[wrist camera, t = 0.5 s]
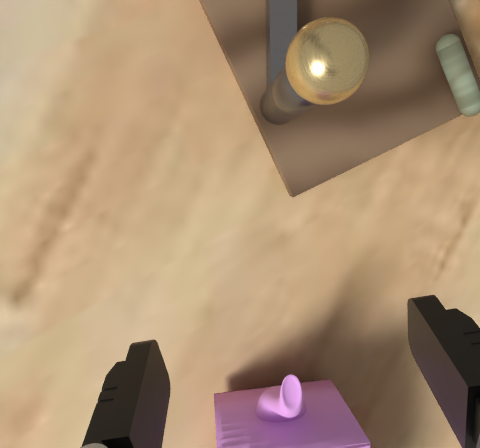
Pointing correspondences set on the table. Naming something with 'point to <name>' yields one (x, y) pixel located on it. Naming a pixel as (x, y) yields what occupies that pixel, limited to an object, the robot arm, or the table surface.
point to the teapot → (287, 417)
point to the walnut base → (370, 91)
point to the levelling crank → (309, 62)
